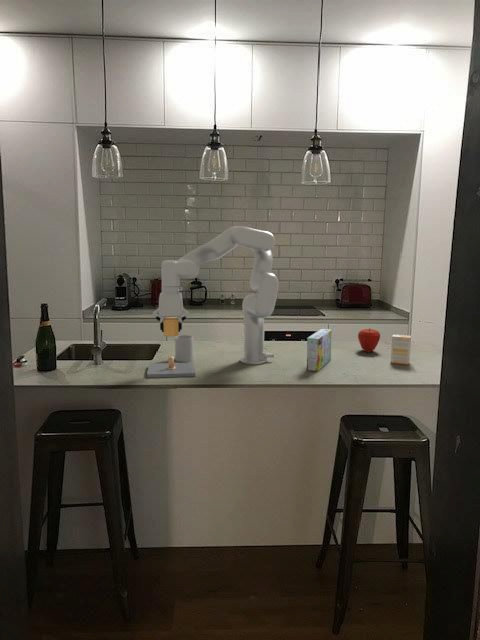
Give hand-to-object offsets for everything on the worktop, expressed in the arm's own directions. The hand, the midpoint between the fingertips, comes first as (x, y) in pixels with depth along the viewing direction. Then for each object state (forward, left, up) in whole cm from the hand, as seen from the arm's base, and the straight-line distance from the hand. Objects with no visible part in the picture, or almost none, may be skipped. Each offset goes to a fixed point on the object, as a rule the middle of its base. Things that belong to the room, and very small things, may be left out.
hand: (171, 331), depth 213 cm
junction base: (0, 0, -18) cm, 18 cm away
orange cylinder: (0, 0, -2) cm, 2 cm away
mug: (-6, -20, -18) cm, 28 cm away
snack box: (-67, -4, -18) cm, 69 cm away
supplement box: (-106, -4, -18) cm, 108 cm away
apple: (-99, -26, -18) cm, 104 cm away
